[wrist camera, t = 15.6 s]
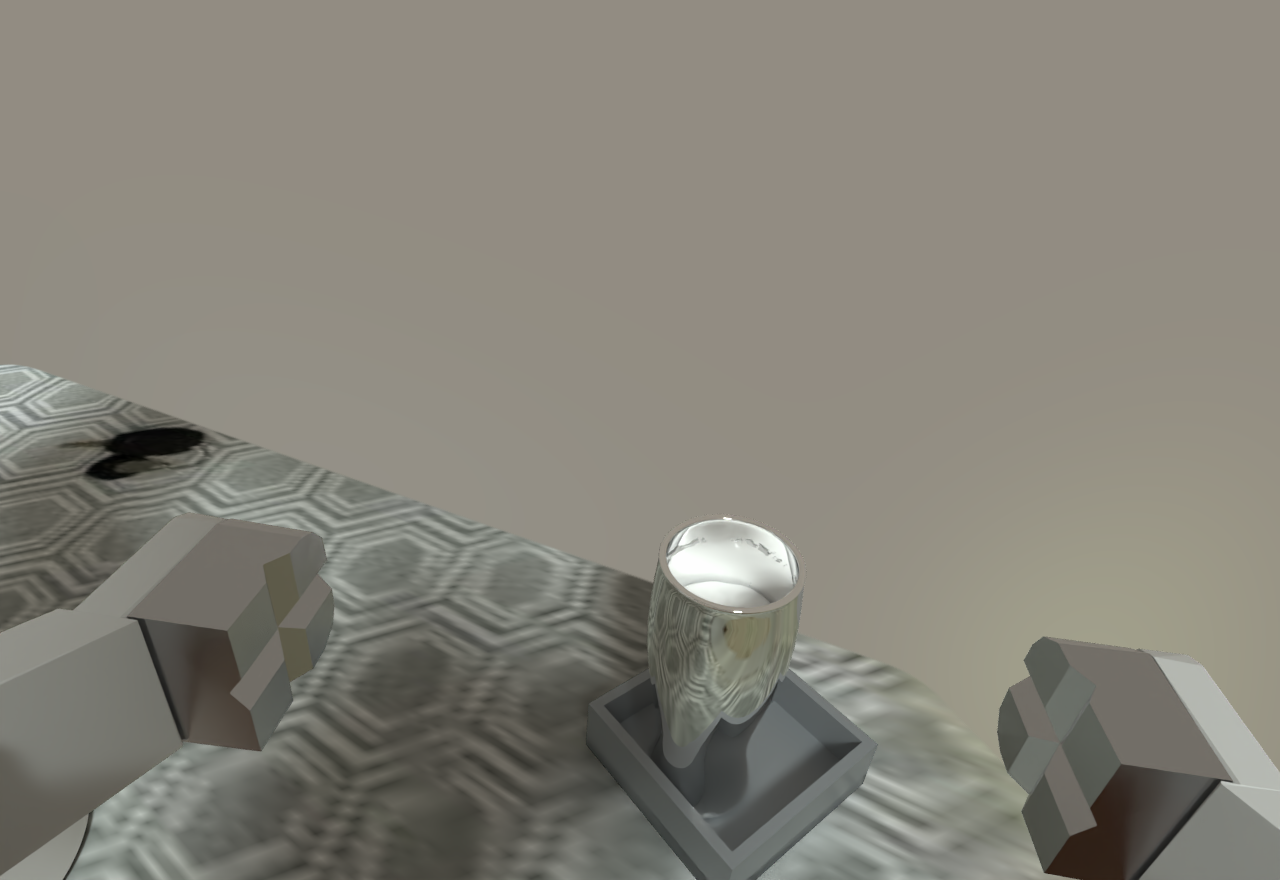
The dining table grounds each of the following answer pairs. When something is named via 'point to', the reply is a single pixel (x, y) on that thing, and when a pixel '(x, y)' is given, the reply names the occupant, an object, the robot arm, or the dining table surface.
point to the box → (782, 784)
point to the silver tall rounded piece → (719, 651)
